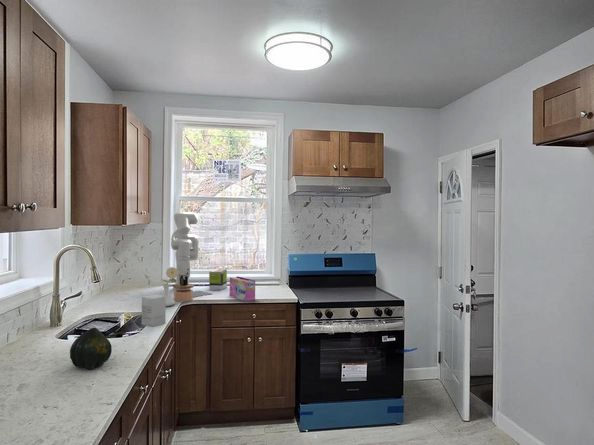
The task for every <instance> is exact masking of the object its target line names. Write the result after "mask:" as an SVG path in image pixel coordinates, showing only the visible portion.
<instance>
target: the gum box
mask: <svg viewBox="0 0 594 445" xmlns="http://www.w3.org/2000/svg"><path fill="white" fill-rule="evenodd" d="M229 297H232V298H236V299H237V300H241V301H244V302H250V301H255V300H256V280H254V279H249V278H245V277H242V276H235V277H229Z"/></svg>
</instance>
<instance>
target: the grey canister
mask: <svg viewBox="0 0 594 445" xmlns="http://www.w3.org/2000/svg"><path fill="white" fill-rule="evenodd" d="M163 324H166V306H165V296H164V295H161V294H150V295H144V296H141V325H143V326H147V327H153V328H154V327H158V326H160V325H163Z"/></svg>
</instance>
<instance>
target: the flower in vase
mask: <svg viewBox="0 0 594 445" xmlns="http://www.w3.org/2000/svg"><path fill="white" fill-rule="evenodd" d="M165 275H166V276H167V278H169V280H165V279H162V281H163V282H167V283H162V288H163V289H164V290H163V292H164V294H163V296H165V307H170V306H174V305H175V304H176V301H175V300H174V298H172V297H170V295H169V288H170V286H171V283H169V282H172V283H176V277H177V276H178V271H177V270H176V267H173V266H170V267H169V268H166V271H165Z"/></svg>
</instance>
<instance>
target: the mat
mask: <svg viewBox="0 0 594 445" xmlns="http://www.w3.org/2000/svg"><path fill="white" fill-rule="evenodd" d="M203 295H205V296H210V295H213V293H212V292H208V291H203V290H193V298H199V297H204V296H203ZM198 296H199V297H198Z"/></svg>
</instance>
